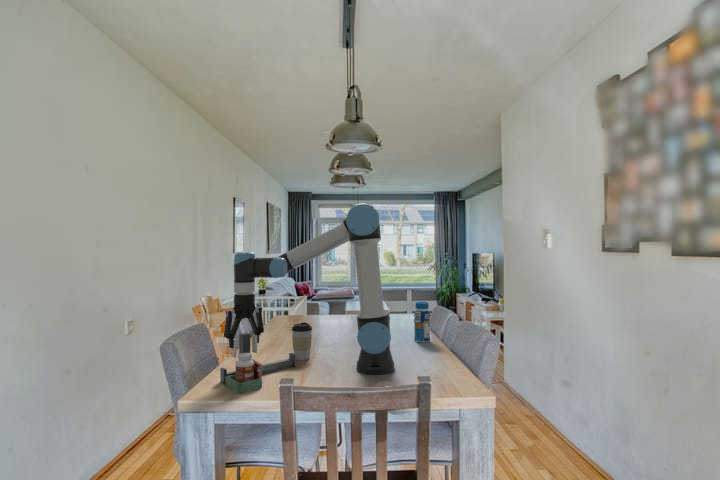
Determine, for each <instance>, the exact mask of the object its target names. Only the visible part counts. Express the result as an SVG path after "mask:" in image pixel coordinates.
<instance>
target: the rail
mask: <svg viewBox="0 0 720 480" xmlns="http://www.w3.org/2000/svg"><path fill="white" fill-rule="evenodd" d="M262 367H263V371H262V375H265V374H268V373H271V372H278V371H280V370H284V369H289V368H294V367H296V359H295V354H294V352H289V353H288V358H284V359H281V360H277V361H271V362H268V363H263V364H262ZM235 374H236V370H233V371H228V372H227V368H225V367H220V376H219V377H220V383H222V385H225V377H226V376H230V375H235Z"/></svg>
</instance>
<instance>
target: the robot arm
mask: <svg viewBox="0 0 720 480" xmlns="http://www.w3.org/2000/svg"><path fill="white" fill-rule="evenodd" d="M381 239H382V238H381V226H380V215H379V211H377V209H376V208H375V207H374V206H372V205H371V204H368V203H357V204H355V205H354V206H352V207H351V208H350V209H349V210H348V212H347V215H346V218H345V219H343V220H341V223H340V224H339V225H337V226H335V227H333V228H331V229H329V230H327V231H325V232H323V233H322V234H320V235H317V236H316V237H313V238H312V239H309V240H307V241H306V242H304V243H302V244H300V245H298V246H296V247H294V248H291V249H290V250H288V251H287V252H285V253H282V254H281V255H278V256H275V257H274V256H273V257H256V254H255V253H254V252H236V253H235V254H234V261H233V275H234V276H233V282H234V283H233V293H234V295H233V308H232V309H230V310H228V309H227V310H225V315H226V319H225V324H224V332H223V338H226V339H228V348H230V356H231V357H233V358H237V339H236V338H235V337H236V334H237V332H238V329H239V327H240V324H241V322H242V320H245V319H247V320H248V322H249V324H250V326H251V329H252V332H253V334H251V352H252V353H255V354H257V353H258V344H260V336H261V334H262V333H264V332H265V328H264V320H263V314H262V313H263V307H260V306H256V305H255V303H256V297H255V296H256V294H255V292H256V287H255V284H256V278H257V279H258V278H266V279H267V278H268V279H269V278H270V279H271V278H273V279H279V278H285V277H286V275H287V274H288V273H289V272H291V271H293V270H295V269H298V268H299V267H301V266H303V265H305V264H307V263H309V262H311V261H313V260H315V259H317V258H319V257H321V256H323V255H324V254H326V253H328V252H330V251H332V250H334V249H336V248H338V247H339V246H342V245H344V244H346V243H348V242H349V243H350V244H351V245H352V246H353V248H354V260H355V268H356V278H357V279H356V280H357V290H358V299H359V300H358V301H359V312H358V313H357V315H356V321H357V336H356V337H357V342H358V345H359V347H360V350H359V351H360V352H359V355H358V358H357V359H358V360H357V361H356V370H357V371H358V372H360V373H363V374H367V375H368V374H369V375H383V374H384V375H385V374H389V373H391V372H393V371H394V370H395V362H394V360H393V355H392V352H391V340H392V334H391V328H390V327H391V322H390V320H391V317H390V312H389V311H386V310H385V309H384V301H383V300H384V299H383V291H382V290H383V289H382V279H381V278H382V277H381V271H380V270H381V268H380V267H381V266H380V260H379V258H380V257H379V250H378V244H379V242H380V241H381ZM254 312H255V316H254ZM234 314H235V316H234ZM233 316H234V321H233ZM255 318H256V319H255Z"/></svg>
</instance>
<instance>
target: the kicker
mask: <svg viewBox="0 0 720 480" xmlns="http://www.w3.org/2000/svg"><path fill="white" fill-rule="evenodd" d="M238 338H239V339H238V342H239V343H238V347H239V348H238V354H241V353H251V333H249V332H244V333H239V334H238ZM251 360H253V361H254V380H255V379H259V378H261V379H262V380H263V377H262V376H263V374H262V371H263V367H262V365H263V364H262V363H261V362H259V361H257V360H255V359H253V358H251ZM237 361H238V360H236V361H235V363H236V362H237Z"/></svg>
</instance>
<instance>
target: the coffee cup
mask: <svg viewBox="0 0 720 480" xmlns="http://www.w3.org/2000/svg"><path fill="white" fill-rule="evenodd" d="M312 331H313V326H311V324H310V323H308V322H300V323H295V324H294V325H293V326H292V327H291V332H292V334H291V336H292V338H291V340H292V350H293V354H295V361H306V360H309V359H310V358H311V348H312V336H313V335H312V333H313V332H312Z"/></svg>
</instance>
